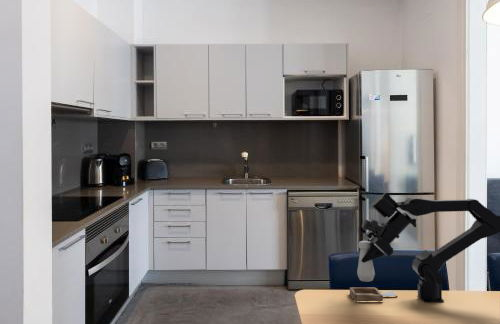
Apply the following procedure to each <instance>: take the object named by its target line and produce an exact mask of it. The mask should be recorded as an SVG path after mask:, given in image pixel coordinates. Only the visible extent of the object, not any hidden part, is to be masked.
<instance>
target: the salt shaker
mask: <svg viewBox="0 0 500 324" xmlns="http://www.w3.org/2000/svg"><path fill="white" fill-rule="evenodd" d="M369 248H370V242H369V241H367V240H361V241H359V242H358V249H360V252H359V256H358V265H357V270H356V274H357V276H358V279H359V281H361V282H373V280H374V278H375V275H376V272H375V267H374V263H373V259H372V260H370V261H367V262H365V263H363V262H362V261H361V260H362V258H363V257H364V255H365V254H366V252H367V251H368V250H369Z"/></svg>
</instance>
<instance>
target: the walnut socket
mask: <svg viewBox="0 0 500 324" xmlns="http://www.w3.org/2000/svg"><path fill="white" fill-rule="evenodd" d="M380 292H381V291H380V290H379V289H378V288H377V287H349V295H350V294H351V295H350V297H351V296H352V297H353V299H354V300H353V299H352V300H353V301H355V302H354V303H358V302H357V301H383V299H384V298H383V295H382V294H381V293H380ZM352 297H351V298H352ZM383 302H384V301H383Z"/></svg>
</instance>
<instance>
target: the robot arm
mask: <svg viewBox="0 0 500 324" xmlns="http://www.w3.org/2000/svg"><path fill="white" fill-rule="evenodd" d="M370 207H372V208H373V210H375V211H376V212H377V213H378V214H379V215H380V216H381V217H382V218H384V219H385V218H386V217H387V218H388V220H387V221H386V222H381V223H380V224H379V222H378V220H375V219H371V220H370V219H367V218H364V219H363V222H362V224H361V228H362V229H364V230H366V231H367V232H366V233H365V236H366V241H369V242H370V248H369V250H368V251H367V252H366V254H365V255H364V257H363V258H362V260H361V261H362V262H363V263H365V262H367V261H370V260H372V261H373V260H375V259H377V258H381V257H383V256H388V258H389V257H391V255H392V254H393V253H394V248H393V247H392V246H391V244H392V243H393V242H394V241H395V240H396V239H397V240H398V239H399V238H401V237H400V235H401V234H402V232H403V231H405V229H407V228H408V227H409V226H410V225H411V226H412V227H414V228H417V218H415V217H420V216H424V215H429V214H432V213H441V212H443V213H446V212H449V213H450V212H469V214H470V215H471V216H472V217H473V219H474V220H475V221H473V223H472V225H471V227H470V228H469V229H467V230H465V231H464V232H462V233H460V234H459V235H458V236H457V237H455V238H453V239H451V240H450V241H449V242H447V243H445V244H444V245H443V246H441V247H439V248H437V250H435V251H432V252H430V251H428V250H427V249H424V250H423V251H422V252H421V253H420V254H417V255H415V258H414V259H413V260H412V263H411V266H412V269H413V271H415V273H416V274H417V275H418V277H419V278H418V284H417V297H418V298H419V299H420V300H421V301H423V302H424V303H425V302H426V303H427V302H431V303H432V302H435V303H436V302H439V303H441V302H442V303H444V302H445V300H444V299H443V295H442V293H443V292H442V291H443V289H442V288H443V287H442V284H443V281H444V276H442V275H441V274H440V272H439V271H440V270H441V268H442V267H443V266H444V264H445V263H446V262H448V261H449V260H451V259H452V258H454V257H456V256H457V255H459V254H460V253H462V252H463V251H465V250H467V248H469V247H471V246H472V245H473V244H475V243H477V242H478V241H480V240H483V239H486V238H489V237H493V236H495V235H498V234H500V215H497V214H495V213H494V212H493V211H491V210H490V209H489V208H488V207H486V206H484V205H483V204H482V203H481V202H480V201H479V200H478V199H474V198H466V199H442V200H441V199H435V200H434V199H433V200H432V199H424V198H419V197H407V198H406V199H405V200H404V201H398V202H397V201H396V200H395V199H393V197H391V196H390V194H389V193H388V192H386V191H385V192H384V193H382V194H381V195H380V196H379V197H376V199H374V201H373V202H372V203H371V205H370ZM401 211H404V212H403V213H402V212H401ZM410 215H412V216H414V218H413V217H411V216H410Z"/></svg>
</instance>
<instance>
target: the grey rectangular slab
mask: <svg viewBox="0 0 500 324" xmlns="http://www.w3.org/2000/svg"><path fill="white" fill-rule="evenodd" d="M386 292H387V293H383V294H382V295H383V296H397V297H398V295H397V294H396V293H395V292H394V291H392V292H389V291H386Z"/></svg>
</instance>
